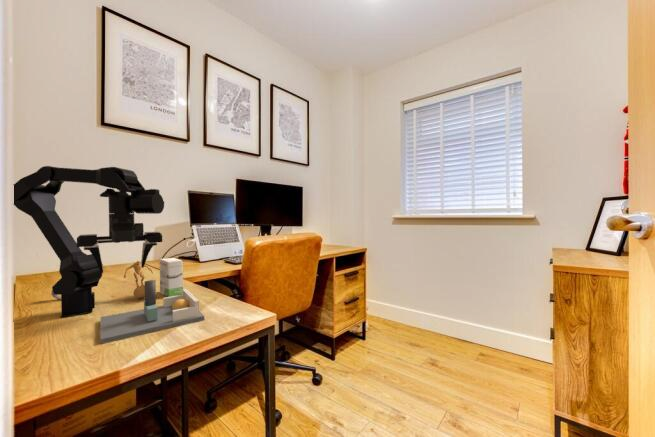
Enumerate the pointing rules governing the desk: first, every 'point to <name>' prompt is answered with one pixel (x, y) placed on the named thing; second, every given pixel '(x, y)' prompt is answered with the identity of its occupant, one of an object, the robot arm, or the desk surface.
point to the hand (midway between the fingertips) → (122, 269)
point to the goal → (184, 312)
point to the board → (139, 323)
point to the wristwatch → (55, 296)
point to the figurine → (140, 290)
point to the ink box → (171, 276)
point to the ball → (180, 304)
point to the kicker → (150, 300)
